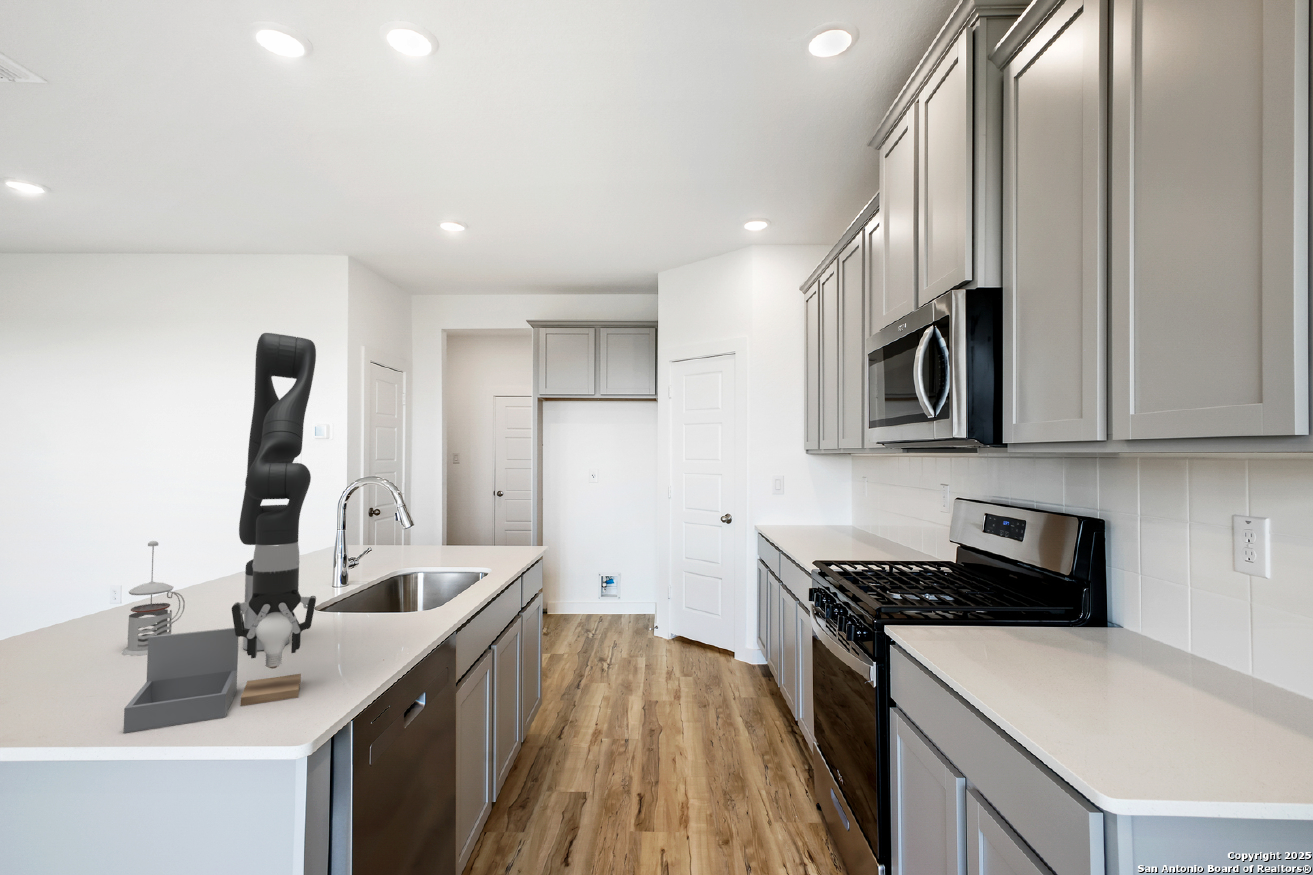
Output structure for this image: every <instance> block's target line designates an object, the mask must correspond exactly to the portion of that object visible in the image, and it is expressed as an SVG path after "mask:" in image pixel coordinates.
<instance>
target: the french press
mask: <svg viewBox="0 0 1313 875" xmlns="http://www.w3.org/2000/svg"><path fill="white" fill-rule="evenodd" d="M157 546H159V542H158V541H157V540H151V541H149V542H148V543H147V547H152V552H151V553H152V557H151V558H152V559H151V581H150V582H147V583H142V584H139V585H137V586H135V587H132V589H130V590H129V591H128V594H129V595H131V596H150V603H148V604H147V603H146V604H141V605H136V606H134V607H131V608H130V612H132V614H131V613H130V614H129V615H128V624H127V625H128V626H127V627H128V628H127V647H126V648H124V649H123V650H122V651H123V652H121V655H123V656H126V655H140V656H145V655H147V656H148V637H149V636H157V635H167V634H172V625H173V623H174V624H175V622H177V621H179V619H180V618H181V617H182V615H183V613H184V610H185V607H186V604H185V603H186V602H185V600H184V599H185V598H184V597H183V595H182V594H181V593H179V592H176V591H172V590H174V586H173V585H170V584H168V583H164V582H156V581H154V580H153V578H154V576H153V575H154V573H153V572H154V552H155V551H154V548H155V547H157ZM164 593H166V597H167V599H172V598H173V595H175V596H176V597H177V599H178V600H177V601H178V609H177V611H176V614H175V615H174V616H173V615H172V614H173V610H172V609H170V610H168V608H170V607H171V603H169V602H155V603H153V600H152V599H153V595H159V594H164ZM169 593H171V595H170V596H169ZM180 598H181V599H182V602H183V606H182V611H181V613H180V615H179V616H178V614H179V612H180V610H181V600H180ZM144 616H145V617H144ZM146 616H147V617H146ZM172 616H173V617H172ZM177 616H178V617H177ZM176 617H177V618H176ZM175 618H176V619H175ZM168 619H169V620H168ZM174 619H175V620H174ZM148 627H151V628H148ZM141 628H142V629H141ZM151 632H153V633H151ZM140 634H141V635H140Z"/></svg>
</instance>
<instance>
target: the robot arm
mask: <svg viewBox="0 0 1313 875" xmlns="http://www.w3.org/2000/svg"><path fill="white" fill-rule="evenodd" d="M316 359H317V348H316V344H315V343H314V341H312V340H311V339H309V338H304V337H299V336H297V337H296V336H293V335H287V334H280V333H272V332H264V333H261V335H260V336H259V338H258V340H257V343H256V351H255V369H254V373H255V374H254V376H255V377H254V400H253V408H252V410H253V411H252V418H251V424H250V430H249V440H248V448H247V466H246V468H247V470H246V476H245V482H244V485H245V488H244V494H243V498H242V499H243V500H242V504H241V510H240V517H239V524H238V527H239V528H238V537H239V540H240V542H241V543H242V544H244V545H246V546H255V547H254V551H253V558H252V559H251V560H249V561H248V562H246V564H245V571H244V572H245V576H244V579H245V580H244V602H239V601H238V602H237V601H236V602H235V603H234V604H233V605H232V607H231V614H232V622H233V628H234V629H235V635H236V636H237V637H238V638H239V637H241V638H242V639H243V640H242V648H243V650H246V655H247V656H248V657H249V656H250V659H256V657H257V655H258V654H257V653H258V651H264V648H263V645H262V643H261V642H260V641H259V639H258V638H257V636H256V627H257V626H258V625H259V623H260V622H261V621H262V620H263V619H264V618H265V616H266V615H267V614H269V613H273V612H281V613H282V614H283V615H284V616H285V617H286V618H287V619H288V620H289V622H290V623H292V633H291V651H290V652H291V654H296V652H297V650H299V649H300V647H301V639H302V638H301V636H302V635H301V634H302V632H304V631H305V630H309V629H311V628H312V622H313V619H314V618H313V616H314V613H315V608H316V602H317V597H316V596H315V595H311V596H301V594H300V591H299V586H300V585H299V580H300V574H299V572H300V546H299V532H300V531H299V528H300V527H299V526H300V519H301V518H300V516H301V512H302V509H303V505H304V502H305V498H306V496H307V494H308V490H309V488H310V484H311V480H312V479H311V478H312V477H311V476H312V475H311V472H310V470H309V468H308V467H307V466H306V465H305V464H303V463H299V462H294V460H295V459H296V458H298V457H299V456H300V454H302V449H303V438H304V424H305V416H306V411H307V407H308V403H309V399H310V395H311V390H312V384H313V380H314V374H315V368H316V361H317V360H316ZM273 377H278V378H286V379H294V380H295V382H294V383H293V385H292V387H291V388H290V389H289V390H288V391H287V392H286V393H285V394H284V395H283V396H282V397H280V398H279V397H278V395H277V392H276V389H275V386H274V383H273V379H272V378H273ZM263 500H288V502H287V504H269V505H267V504H266V505H265V504H264V505H262V502H263ZM300 603H301V604H302V606H303V609H305V610H306V613H305V617H304V618H305V619H304V621H302V622H299V620H298V619H297V616H296V614H295V612H294V610H295V609H296V608H297V607H298V606H299V604H300ZM289 617H290V618H289ZM258 620H260V621H258ZM289 642H290V637H289V638H288V639H287V640H286V642H285V646H286V645H288V644H289Z"/></svg>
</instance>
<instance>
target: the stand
mask: <svg viewBox="0 0 1313 875" xmlns="http://www.w3.org/2000/svg"><path fill="white" fill-rule="evenodd" d="M301 681H302V673H296V674H288V675H282V676H273V677H266V678H259V679H258V678H257V679H252V680H247V681H246V684H245V686H244V688H243V691H242V693H241V695H240V704H239V705H240V707H243V706H250V705H257V704H263V703H271V702H277V701H282V700H289V699H290V698H291V699H296V698H299V694H300V690H301ZM291 699H290V700H291Z"/></svg>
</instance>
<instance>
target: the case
mask: <svg viewBox="0 0 1313 875" xmlns="http://www.w3.org/2000/svg"><path fill="white" fill-rule="evenodd" d="M146 662H147V663H146V682H144V684H143V685H142V687H141V688H140V689H138V691H137V692H136V693H135V695H134V696H133V697H132V699H131V700H130V701H128V703H127V704H126V706H125V707H124V710H123V733H122V734H127V733H133V732H139V731H146V730H147V731H148V730H153V729H158V728H159V729H160V728H165V727H171V726H179V725H184V724H190V723H196V722H203V721H210V720H216V719H223V718H226V716H227V713H228V712H229V709H230V706H231V704H232V702H233V699H234V697H235V694H236V692H237V690H238V665H239V663H238V662H239V637H237V636H236V635H235V629H234V627H229V628H221V629H219V628H218V629H209V630H208V629H207V630H201V631H200V630H197V631H189V632H179V633H171V634H167V635H157V636H149V637H148V655H147V658H146Z"/></svg>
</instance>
